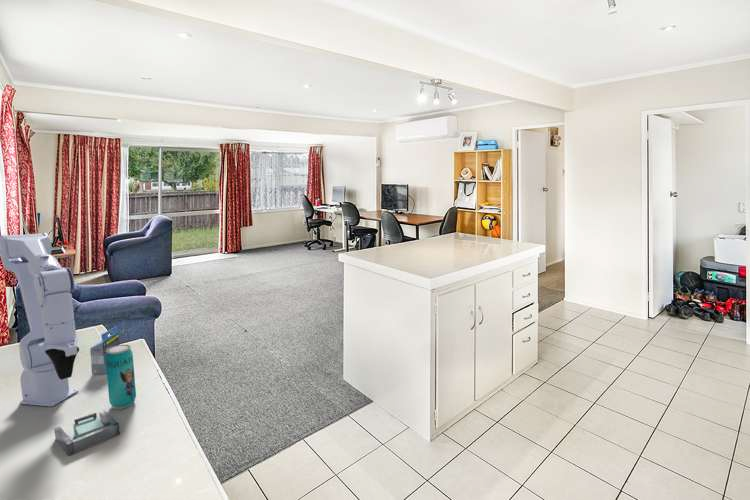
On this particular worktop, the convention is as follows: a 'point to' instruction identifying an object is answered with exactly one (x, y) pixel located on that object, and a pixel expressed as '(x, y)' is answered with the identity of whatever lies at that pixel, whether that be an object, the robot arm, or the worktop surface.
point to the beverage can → (120, 376)
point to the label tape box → (103, 351)
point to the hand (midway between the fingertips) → (65, 377)
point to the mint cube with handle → (87, 425)
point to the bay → (88, 435)
